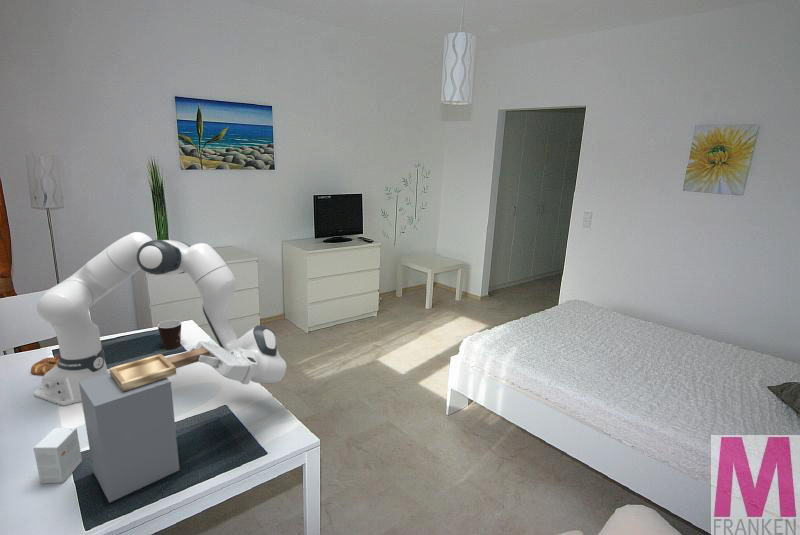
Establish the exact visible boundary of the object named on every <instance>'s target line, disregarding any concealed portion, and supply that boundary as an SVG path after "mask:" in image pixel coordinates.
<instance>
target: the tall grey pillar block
mask: <svg viewBox="0 0 800 535" xmlns="http://www.w3.org/2000/svg"><path fill="white" fill-rule="evenodd" d="M79 386H80V393H81V399H82V401H81V403H82V404H81V405H82V410H83V418H84V422H85V428H86V429H85V430H86V434H87V442H88V447H89V453H90V454H89V455H90V458H91V459H90V460H91V466H92V472H93V474H94V476H95V478H96V481H98V483H99V486H100V487H101V490H102V491H103V493H104V496H105V498H106V499H107V501H108V503H112V502H114V501H116V500H118V499H120V498H123V497H125V496H127V495H129V494H132V493H134V492H135V491H137V490H141V489H142V488H144V487H146V486H149V485H150V484H153V483H155V482H157V481H159V480H162V479H163V478H166V477H168V476H169V475H170V476H171V475H172V474H174V473H176V472H178V471H180V462H179V460H180V459H179V452H178V442H177V433H176V431H177V430H176V422H175V413H174V412H175V410H174V401H173V393H172V382H171V380H170V379H169V377H167V378H164V379H161V380H158V381H155V382H152V383H148V384H145V385H142V386H139V387H136V388H133V389H130V390H126V391H122V390H121V388H120V387H119V386H118V385H117V383H116V382H115V381H114V379H113V378H112V377H111V376H110V372H108V374H105V375H101V376H98V377H94V378H91V379H87V380H84V381H80V382H79Z"/></svg>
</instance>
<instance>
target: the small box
mask: <svg viewBox="0 0 800 535" xmlns="http://www.w3.org/2000/svg"><path fill="white" fill-rule="evenodd" d="M33 452H34V457H35V462H36V466H37V472H38V477H39V482H40V483H41V484H60V483H61V484H62V483H65V481H66V480H67V479H69V477H70V476H71V475H72V473H74V471H75V470H76V469H77V468H78V467H79V465H80V464H81V463H82V462H83V458H82V452H81V445H80V440H79V435H78V428H77V427H53V429H52V430H50V431H49V432H48V433H47V434H46V435H45V436H44V437H43V438H42V439H41V440H39V442H38V443H37V444H36V445H35V446H33Z"/></svg>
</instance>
